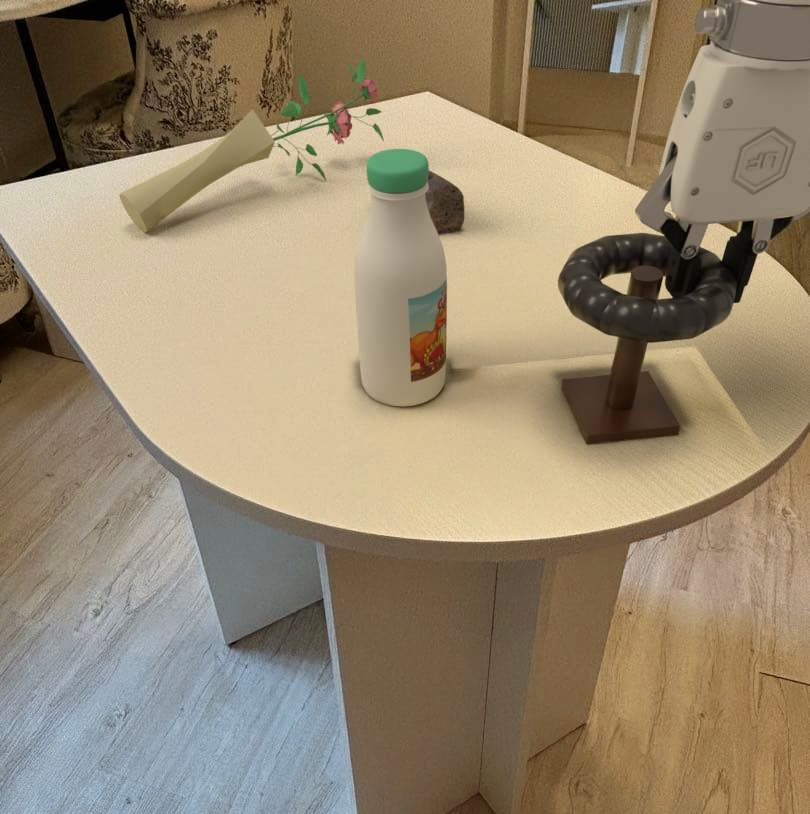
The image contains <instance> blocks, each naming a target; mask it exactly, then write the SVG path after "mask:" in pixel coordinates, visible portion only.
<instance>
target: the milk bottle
mask: <svg viewBox="0 0 810 814" xmlns="http://www.w3.org/2000/svg"><path fill="white" fill-rule="evenodd" d="M429 171H430V167H429V161H428V158H427V156H426V155H424V154H423V153H421V152H420V151H418V150H417V151H416V150H413V149H409V148H408V149H407V148H391V149H385V150H381V151H378V152H375V153H373V154H372V155H371V156H370V157H369V158H368V159H367V162H366V179H367V183H368V185H367V191H368V193H369V194H370V197H371V199H370V208H369V212H368V215H367V216H368V217H367V219H366V222H365V225H364V227H363V230H362V232H361V235H360V238H359V240H358V243H357V246H356V251H355V256H354V266H353V267H354V269H353V271H354V298H355V313H356V327H357V341H358V343H357V344H358V355H359V368H360V378H361V385H362V388H363V389H364V390H365V392H366V393H367V394H368V395H369V397H370V398H372V399H373V400H375V401H377V402H379V403H381V404H384V405H388V406H395V407H413V406H416V405H422V404H423V403H426V402H428V401H430V400H432V399H434V398H435V397H436V396H437V395H438V394H439V393H440V392H441V390H443V387H444V385H445V383H446V374H447V373H446V371H447V334H448V333H447V330H448V329H447V328H448V327H447V326H448V323H447V322H448V278H447V277H448V274H447V272H448V271H447V269H448V268H447V259H446V254H445V250H444V246H443V243H442V240H441V238H440V234H438V233H437V231H436V228H435V226H434V224H433V222H432V219H431V217H430V214H429V211H428V207H427V203H426V197H425V193H426V192H427V190H428V188H429V186H428V177H429Z"/></svg>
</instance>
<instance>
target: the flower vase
mask: <svg viewBox="0 0 810 814" xmlns="http://www.w3.org/2000/svg"><path fill="white" fill-rule="evenodd" d="M348 66H349V69H350V73H351V76H352V79H351V82H350V85H351V86H350V87H351V89H352V91H353V92H352V93H353V94H352V100H351V101H349V102H348V103H346V104H345V103H342V102H341V101H340V100H338V102H337V101H335V102H334V106H333V107H331V112H329V113H323V114H324V115H322V116H320V117H317V118H315V119H313V120H311V121H309V122H307V123H304V124H302V122H303V118H304V115H302V114H305V113H304V112H305V107H306V105H308V104H310V102H311V96H310V94H309V89H308V85H307V82H306V80H305V78H304V77H303V75H302V74H301V73H300V72H299V73H298V88H299V96H301V100H300V104H299V103H297V102H295V101H291V100H287V105H286V106H285V107H284V108H283V110H282V111H281V113H280V116H283V117H287V118H289V120H288V123H287V125H289V124H290V121H291V120H292V118H294V117H295V118H296V117H297V118H298V117H299V116H300V124H299V126H298V127H295V128H294V129H292V130H289V127H286V128H287V130H286V131H287V132H286V133H285V131H284V130H283V129H282V128H281V126H280V125H279V122H276V123H275V124H276V129H277V130H276V131H275V132H273V133H272V134H270V132H269V131H268V129H267V128H266V127H265V125H264V123H263V122H262V120H260V118H259V117H258V115H257V114H256V112H255V110H254V109H253V108H252V109H251V110H250V111H249V112H248V113H247V114H246V115H245V116H244V117H243V118H242V119H241V120H240V121H239V123H238V124H236V125H235V126H234V127H233V129H231V130H230V131H228V132H227V133H226V134H225V135H224V136H223V137H221V138H219V139H218V140H217V141H215V142H214V143H212V144H211V145H209V146H208V147H206V148H204V149H203V150H201V151H200V152H199V153H197V154H195V155H193V156H192V157H190V158H188V159H187V160H185V161H182V163H179V164H177V165H176V166H173V167H172V168H170V169H167V170H165V171H163V172H160V173H158V174H157V175H155V176H153V177H150V178H148V179H147V180H145V181H142V182H140V183H139V184H137V185H135V186H132V187H130V188H127V189H126V190H124V191H122V192H120V194H119V196H118V197H119V199H120V202H121V204H122V206H123V208H124V210H125V211H126V213H127V215H128V216H129V218H130V220H131V221H132V222H133V223H134V224H135V226H136V227H137V228H138V229H139V230H140V231H141V232H143V233H144V234H146V233H147V232H148V231H150V230H151V229H152V228H154V227H155V226H157V225H158V224H159V223H160V222H161V221H163V220H164V219H166V217H168V216H169V215H171V214H172V213H174V212H175V211H176V210H178V208H180V207H181V206H183V205H184V204H185V203H186V202H188V201H190V199H192V198H193V197H194V196H196V195H197V194H198V193H200V192H201V191H203V190H204V189H206V188H207V187H208V186H209V185H211V184H213V183H215V182H216V181H218V180H220V179H221V178H223V177H225V176H227V175H229V174H230V173H231V172H233V171H235V170H237V169H239V168H240V167H243V166H246V165H248V164H252V163H255V162H260V161H262V160H266V159H269V158H270V155H271V153H272V150H273V148H274V147H275V148H276V147H277V148H280V149H282V150H284V151H285V154H287V156H288V157H291V153H290V152H289V151H288V149H286V148H285V147H284V146H283V145H282V144H281V143H278V142H277V145H275V143H276V141H279V140H281V139H283V140H285V141H286V142H288V143H289V144H291V145H292V146H293V147H294V148H295V150H297V159H296V164H295V176H297V175H299V174H301V172H302V171H303V168H304V162H303V161H302V160H301V158H300V157H299V154H300V156H302V158H303V159H304V161H306V163H308V164H309V165H310V166H312V168H313V169H315V170H317V172H318V173H319V174H320V176H321V177H322V178H323V179H324V181H327V178H326V175H325V173H324V171H323V169H322V168H321V166H320V165H319V164H318V163H316V162H314V163H313V162H312V163H310V162H309V161H308V160H307V159H306V158H305V156H303V154H302V153H301V151H300V150H302V151H306V152H307V153H308V154H309V155H311V156H314V157H317V156H318V153H317V152H316V150H315V148H314V147H313V146H312V145H311V144H309V143H306V146H305V149H304V148H301V147H299V148H298V147H297V146H295V145H294V144H293V143H292V142H291V141H289V140H288V139H287V138H286V137H290V136H292V135H294V134H297V133H301V132H304V131H307V130H311V129H314V128H318V127H323V126H328V130H327V133H326V136H328V135H330V134H331V136H332V137H333V138H334V139H333V140H334V142H337V145H341V144H342V145H344V144H345V141H344V140H347V138H349V137H350V136H351V130H352V129H353V123H352V118H354V119H355V120H357V121H359V122H361V123H364V124H365V125H367V126H369V127H372V128H373V130H374V131H375V132H376V133H377V134H378V136H379V137H380V138H381V140H382V142H385V139H384V136H383V133H382V131H381V128H380V127H379V125H378V124H377V123H374V124H373V125H371V124H368V123H366V122H364V121H362V120H360V118H364V117H365V116H368V117H369V116H374V115H378V114H381V113H382V112H383V111H382V110H380V109H378V108H376V107H375V108H374V107H373V108H372V107H369V108H366V111H365V114H364V115H362V116H353V115H352V114H351V113H350V112H349V110H348V108H347V107H348V106H350V105H352V104H353V103H355V102H357V101H358V100H360V99H361V98H363V103H365V102H366V101H368V102H370V104H371V105H373V104H376V100H375V99H377V101H378V100H379V97H380V95H379V91H378V85H377V83H376V82H375V81H373V79H372V78H369V77H368V76H366V74H367V66H366V62H365V58H362V59H361V60H360V62H359V64H357V67H356V71H355V73H354V68H353V65H352V64H351V63H350V62H348ZM355 81H356V83H355ZM354 83H355V86H354V88H353V84H354ZM358 83H362V84H361V86H360V88H358V90H359V92H360V95H359V96H357V97H356V98H355V97H354V96H355V92H356V91H355V90H356V87H357V85H358ZM303 103H304V104H305V105H303ZM303 106H304V107H303ZM301 112H302V114H301ZM325 118H326V119H327V122H320V123H316V122H318V121H321V120H322V119H325ZM279 131H280V132H281V133H283V134H280V135H278V136H275V137H273V136H274V135H275V134H276V133H278V132H279ZM343 139H344V140H343Z"/></svg>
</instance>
